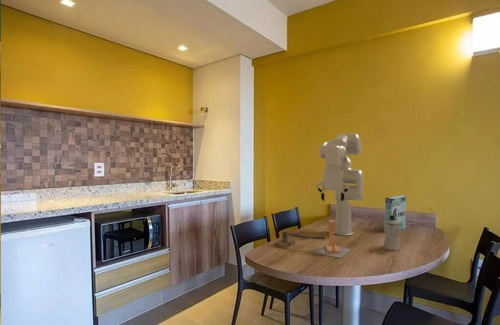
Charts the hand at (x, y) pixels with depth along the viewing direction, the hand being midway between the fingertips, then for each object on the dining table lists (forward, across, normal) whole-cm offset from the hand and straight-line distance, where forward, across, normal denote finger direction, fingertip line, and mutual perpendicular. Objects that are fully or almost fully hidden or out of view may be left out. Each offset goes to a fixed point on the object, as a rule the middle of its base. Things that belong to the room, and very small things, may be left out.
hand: (332, 200), depth 153 cm
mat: (+27, 0, +1) cm, 27 cm away
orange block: (+26, 0, 0) cm, 26 cm away
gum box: (+28, -50, -52) cm, 77 cm away
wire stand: (+27, +17, -2) cm, 32 cm away
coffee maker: (+27, -33, -9) cm, 44 cm away
